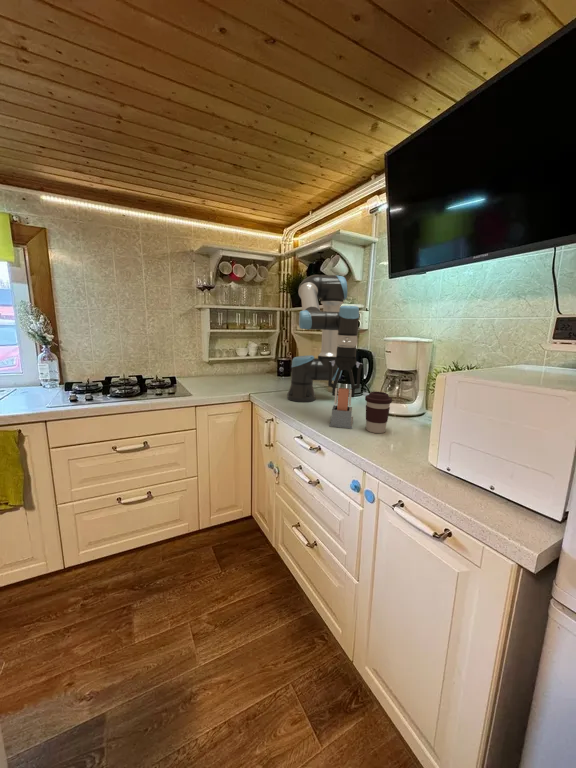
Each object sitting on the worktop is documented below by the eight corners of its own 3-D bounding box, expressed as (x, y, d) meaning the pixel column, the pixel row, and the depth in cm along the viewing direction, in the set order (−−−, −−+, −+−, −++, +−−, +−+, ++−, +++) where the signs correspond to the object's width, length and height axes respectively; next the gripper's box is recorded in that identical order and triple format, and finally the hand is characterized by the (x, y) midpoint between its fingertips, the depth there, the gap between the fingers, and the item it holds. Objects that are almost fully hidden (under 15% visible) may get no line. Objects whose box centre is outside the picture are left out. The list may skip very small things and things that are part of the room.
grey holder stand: (332, 415, 143) (334, 387, 140) (353, 417, 141) (355, 389, 139) (329, 426, 128) (331, 395, 125) (352, 429, 126) (354, 396, 123)
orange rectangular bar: (336, 423, 129) (338, 389, 126) (336, 420, 133) (339, 387, 130) (346, 424, 128) (348, 390, 125) (346, 421, 132) (349, 388, 129)
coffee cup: (393, 430, 125) (396, 393, 123) (381, 436, 118) (385, 397, 115) (370, 424, 132) (373, 389, 129) (357, 430, 125) (360, 392, 122)
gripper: (322, 345, 123) (319, 404, 127) (370, 348, 119) (365, 408, 123) (324, 344, 130) (321, 400, 134) (370, 347, 126) (365, 404, 131)
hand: (342, 404), depth 129 cm, fingers open, 5 cm apart
